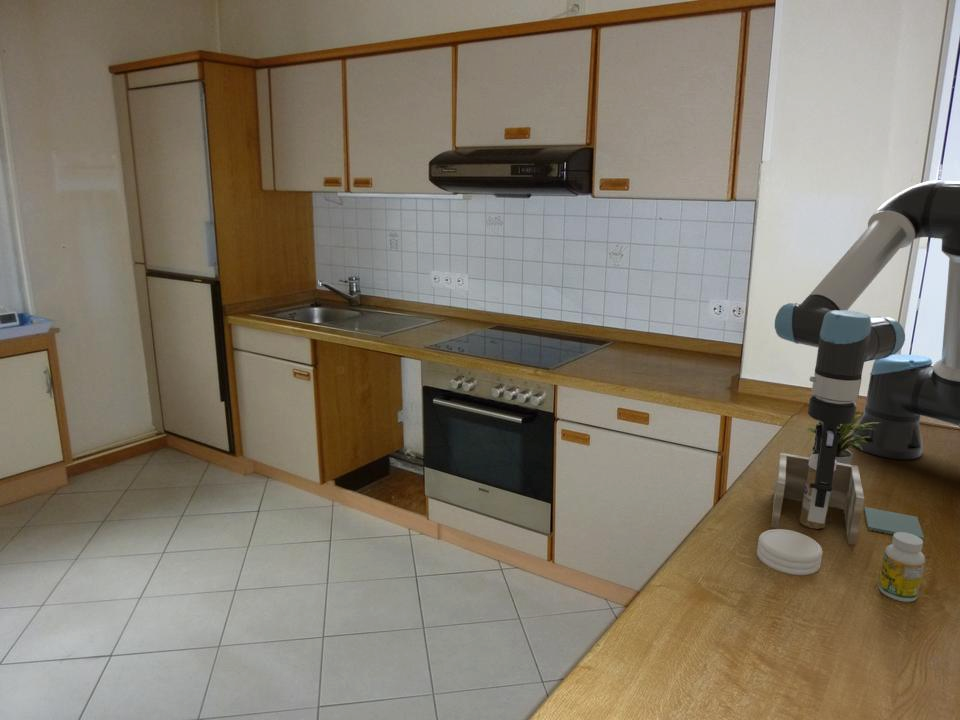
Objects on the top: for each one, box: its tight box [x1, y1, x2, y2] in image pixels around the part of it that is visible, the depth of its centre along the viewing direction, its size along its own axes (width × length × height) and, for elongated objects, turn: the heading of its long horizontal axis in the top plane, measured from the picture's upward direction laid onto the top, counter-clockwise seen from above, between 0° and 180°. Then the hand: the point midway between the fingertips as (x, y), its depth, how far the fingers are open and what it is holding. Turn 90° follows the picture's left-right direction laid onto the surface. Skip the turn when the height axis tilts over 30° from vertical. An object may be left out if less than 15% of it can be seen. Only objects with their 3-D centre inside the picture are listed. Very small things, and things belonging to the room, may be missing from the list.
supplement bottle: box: [878, 532, 926, 603], centre depth 110 cm, size 5×5×10 cm
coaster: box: [756, 528, 824, 576], centre depth 120 cm, size 10×10×4 cm
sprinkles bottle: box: [798, 453, 837, 530], centre depth 131 cm, size 5×5×13 cm
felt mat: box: [863, 506, 925, 542], centre depth 134 cm, size 9×9×1 cm
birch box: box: [771, 452, 865, 546], centre depth 134 cm, size 16×14×9 cm
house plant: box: [805, 409, 880, 465], centre depth 150 cm, size 14×14×16 cm
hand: (815, 506), depth 132 cm, fingers open, 13 cm apart
